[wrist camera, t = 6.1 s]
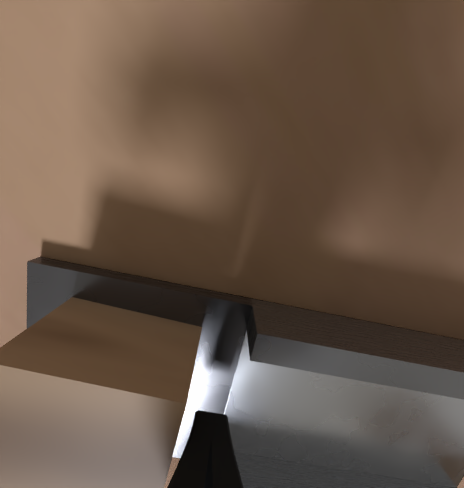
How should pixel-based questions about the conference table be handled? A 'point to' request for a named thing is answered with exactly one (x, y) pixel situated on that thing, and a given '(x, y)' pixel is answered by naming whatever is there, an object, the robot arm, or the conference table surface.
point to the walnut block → (94, 398)
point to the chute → (298, 383)
